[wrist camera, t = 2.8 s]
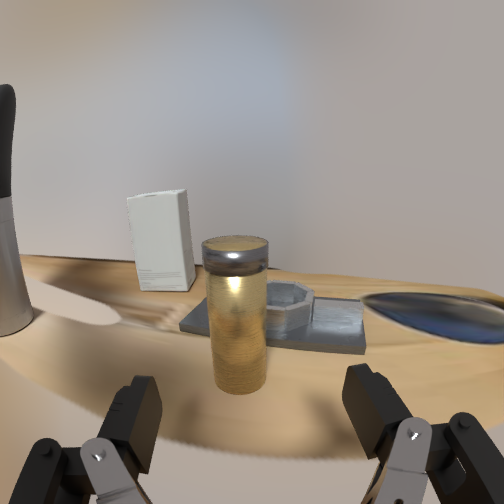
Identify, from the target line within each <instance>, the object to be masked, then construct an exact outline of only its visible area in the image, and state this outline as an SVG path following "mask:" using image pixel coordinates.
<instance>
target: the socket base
mask: <svg viewBox="0 0 504 504" xmlns="http://www.w3.org/2000/svg"><path fill="white" fill-rule="evenodd" d="M363 313H364V306H363V302H360V300H356V299H341V298H327V297H314V291H313V290H312V289H310V288H308V287H306V286H304V285H302V284H300V283H299V282H298V283H296V282H292V281H280V280H273V281H271V280H269V281H267V315H266V346H273V347H280V348H289V349H298V350H307V351H318V352H330V353H343V354H360V355H364V354H365V350H366V341H365V332H364V325H363ZM179 326H180V331H184V332H189V333H194V334H199V335H204V336H209V337H210V329H209V319H208V308H207V297H206V298H205V299H204V300H203V301H202V302H201V303H200V304H199V305H198V306H197V307H196V308H194V309H193V310H192V311H191V312H190V313H189V314H188V315H187V316H186V317H185V318H184V319H183V320H182V321H181V322H180V323H179Z"/></svg>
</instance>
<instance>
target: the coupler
mask: <svg viewBox="0 0 504 504" xmlns="http://www.w3.org/2000/svg"><path fill="white" fill-rule="evenodd" d="M202 259H203V269H204V270H205V283H206V296H207V308H208V319H209V329H210V340H211V349H212V358H213V367H214V376H215V382H216V384H217V386H218V387H219V388H220V389H221V390H223V391H225V392H227V393H230V394H236V395H243V394H249V393H252V392H255V391H257V390H258V389H260V388H261V387H262V386H263V384H264V383H265V378H266V315H267V267H268V241H267V240H265V239H263V238H259V237H254V236H222V237H216V238H212V239H208V240H206V241H204V242H203V243H202Z"/></svg>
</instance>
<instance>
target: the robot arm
mask: <svg viewBox="0 0 504 504" xmlns="http://www.w3.org/2000/svg"><path fill="white" fill-rule="evenodd" d="M15 112H16V98H15V92H14V89H13V87H12V86H11V85H8V84H3V85H0V336H4V335H8V334H11V333H14V332H16V331H18V330H20V329H22V328H23V327H25V326H26V325H27V324H29V323H30V321H31V320H32V319H33V317H34V313H33V309H32V306H31V303H30V299H29V295H28V292H27V287H26V283H25V279H24V275H23V271H22V266H21V261H20V256H19V251H18V245H17V239H16V232H15V226H14V218H13V208H12V197H11V154H12V140H13V131H14V122H15ZM342 401H343V404H344V407H345V409H346V411H347V413H348V415H349V418H350V420H351V422H352V424H353V426H354V429H355V431H356V433H357V435H358V438H359V440H360V442H361V444H362V447H363V449H364V451H365V453H366V456H367V458H368V460H369V459H372V458H376V457H378V459H379V461H380V462H379V464H378V466H377V468H376V471H375V473H374V476H373V478H372V481H371V483H370V485H369V488H368V490H367V492H366V494H365V497H364V498H363V501H362V502H361V504H421V503H422V500H423V496H424V493H425V489H426V485H427V480H428V477H429V479H430V481H431V483H432V485H433V488H434V489H435V492H436V494H437V496H438V499H439V501H440V503H441V504H504V458H503V456H502V455H501V453H500V452H499V450H498V449H497V447H496V446H495V444H494V443H493V441H492V440H491V439H490V437H489V436H488V434H487V433H486V432H485V430H484V429H483V427H482V426H481V425H480V423H479V422H478V421H477V419H476V418H475V417H474V416H473V415H471V414H469V413H465V412H460V413H457V414H455V415H453V416H452V418H451V419H450V421H449V423H443V424H434V425H430V424H429V423H428V422H427V421H426V420H424V419H422V418H418V417H413V416H412V414H411V413H410V411H409V410H408V408H407V407H406V405H405V404H404V403H403V401H402V400H401V398H400V397H399V395H398V394H397V392H396V391H395V389H394V388H392V385H391V384H390V382H389V381H388V379H387V378H386V377H384V376H383V375H381V374H380V373H378V372H376V373H373V372H372V371H371V369H370V368H369V366H368V365H367V364H366V363H363V364H358V365H352V366H349V367H348V368H347V372H346V377H345V382H344V386H343V391H342ZM161 417H162V402H161V399H160V395H159V392H158V389H157V385H156V382H155V379H154V377H153V376H139V375H136V376H135V377H134V378H133V381H132V383H131V385H130V386H124V387H123V388H122V389H120V390H119V391H118V392H117V393H116V395H115V397H114V399H113V402H112V404H111V406H110V408H109V411H108V413H107V415H106V417H105V420H104V422H103V424H102V426H101V429H100V431H99V433H98V436H97V438H93V439H90V440H88V441H86V442H85V443H84V444H83V445H82V447H76V448H62V447H61V446H60V445H59V444H58V442H57V441H55V440H54V439H51V438H43V439H40V440H38V441H37V442H36V443H35V444H34V445H33V447H32V449H31V451H30V453H29V455H28V457H27V460H26V462H25V464H24V467H23V469H22V471H21V473H20V476H19V478H18V480H17V483H16V485H15V488H14V490H13V493H12V496H11V498H10V501H9V504H89V500H90V496H91V494H93V495H96V494H97V496H98V499H97V500H96V502H97V504H152V502H151V501H150V499H149V498H148V496H147V495H146V493H145V492H144V490H143V489H142V487H141V485H140V484H139V482H138V481H137V479H138V475H139V473H143V474H148V473H149V468H150V463H151V459H152V454H153V450H154V445H155V441H156V437H157V433H158V429H159V425H160V421H161ZM457 458H458V459H459V461H460V462H461V464H460V462H459V461H458V459H457ZM461 465H462V466H463V468H464V469H463V468H462V466H461ZM464 470H465V471H464ZM425 471H426V473H427V474H426V473H425ZM465 472H466V473H465Z"/></svg>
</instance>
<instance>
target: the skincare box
mask: <svg viewBox="0 0 504 504" xmlns="http://www.w3.org/2000/svg"><path fill="white" fill-rule="evenodd" d="M127 208H128V217H129V224H130V231H131V238H132V245H133V251H134V257H135V263H136V268H137V274H138V279H139V284H140V289H141V291H188V290H189V288H190V286H191V285H192V283H193V282H194V280H195V277H196V274H195V266H194V258H193V250H192V241H191V231H190V222H189V211H188V200H187V190H186V189H181V190H171V191H161V192H154V193H146V194H139V195H136V196H132V197H129V198H127Z"/></svg>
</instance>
